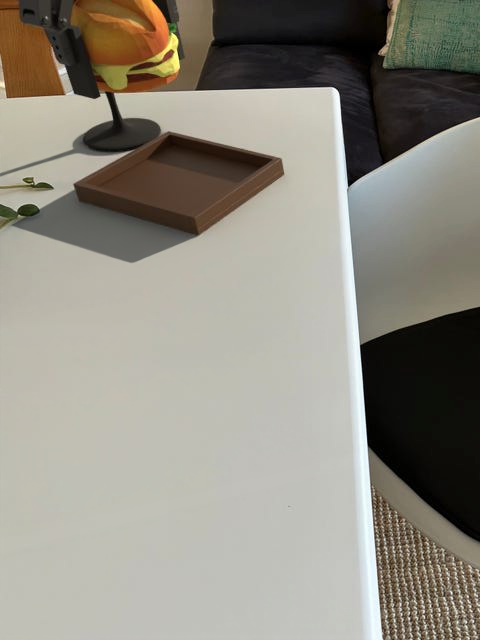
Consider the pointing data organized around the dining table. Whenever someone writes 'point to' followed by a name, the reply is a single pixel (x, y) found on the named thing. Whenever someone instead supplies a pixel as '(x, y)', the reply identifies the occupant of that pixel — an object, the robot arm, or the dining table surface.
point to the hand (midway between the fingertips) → (132, 75)
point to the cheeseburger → (127, 44)
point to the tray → (180, 181)
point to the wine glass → (120, 130)
